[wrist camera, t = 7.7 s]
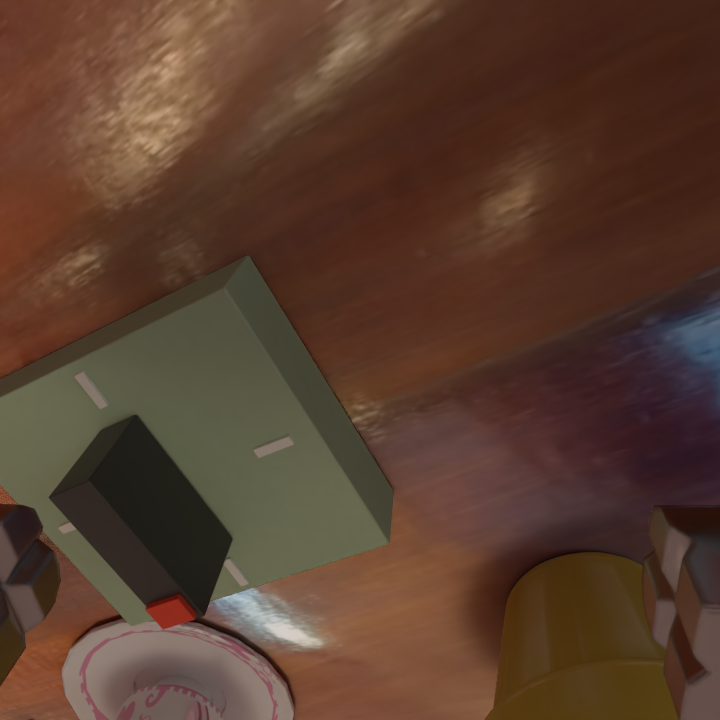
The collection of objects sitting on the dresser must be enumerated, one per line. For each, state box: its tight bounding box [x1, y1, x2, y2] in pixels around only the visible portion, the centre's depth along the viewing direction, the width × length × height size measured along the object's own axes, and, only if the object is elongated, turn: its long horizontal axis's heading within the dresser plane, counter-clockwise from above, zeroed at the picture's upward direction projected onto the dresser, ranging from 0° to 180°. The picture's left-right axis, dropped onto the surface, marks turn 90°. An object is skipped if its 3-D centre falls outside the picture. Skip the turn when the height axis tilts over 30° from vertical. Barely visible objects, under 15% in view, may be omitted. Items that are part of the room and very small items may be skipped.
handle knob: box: [49, 415, 233, 629], centre depth 22 cm, size 6×2×4 cm, turn 28°
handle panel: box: [0, 256, 393, 626], centre depth 25 cm, size 12×11×3 cm
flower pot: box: [485, 552, 679, 720], centre depth 24 cm, size 10×10×10 cm
